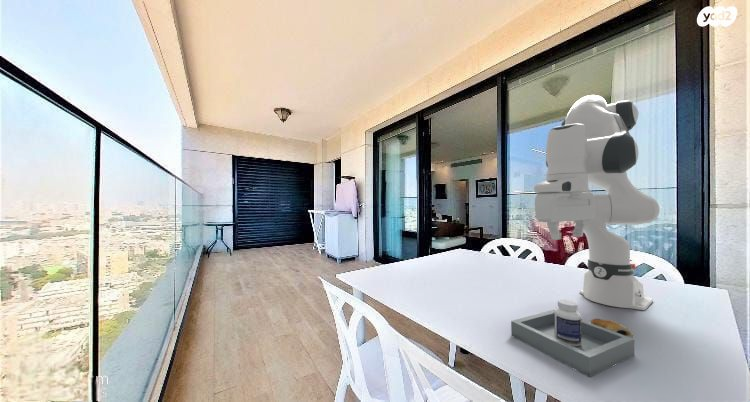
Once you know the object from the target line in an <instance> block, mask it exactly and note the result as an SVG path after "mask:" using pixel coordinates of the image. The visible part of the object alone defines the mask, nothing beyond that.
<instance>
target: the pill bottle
mask: <svg viewBox="0 0 750 402" xmlns="http://www.w3.org/2000/svg"><path fill="white" fill-rule="evenodd" d="M578 309H579V308H578V303H577V302H574V301H572V300H567V299H558V300H557V308H555V309H554V310H555V311H554V319H555V338H556V339H558V340H560V341H562V342H564V343H567V344H569V345H571V346H580V345H581V343H582V334H581V332H582V330H581V320H582V316H581V315H582V314H581V313H579V312H578Z"/></svg>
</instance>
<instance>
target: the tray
mask: <svg viewBox="0 0 750 402" xmlns="http://www.w3.org/2000/svg"><path fill="white" fill-rule="evenodd" d="M554 311H555V309H551V310H547V311H544V312H539V313H536V314H532V315H529V316H525V317H521V318H517V319H514V320H511V321H510V325H511V326H510V336H511V337H513V338H515V339H516V340H519V341H520V342H522V343H524V344H526V345H527V346H530V347H532V348H533V349H536V350H537V351H539V352H541V353H543V354H545V355H546V356H548V355H549V357H550V356H551V357H550V358H553V359H554V360H557V361H558V362H561V363H562V364H564V365H565V364H566V366H567V365H568V366H567V367H569V366H570V367H569V368H571V369H573V368H574V369H573V370H575V369H576V370H575V371H577V372H579V373H581V374H583V375H584V374H585V376H586V375H587V377H588V378H591V377H593V376H596V375H597V374H600V373H601V372H604V371H606V370H608V369H611V368H613V367H614V366H613V365H615V364H617V363H619V364H621V363H623V362H625V361H627V360H630V359H632V358H633V357H635V338H634V337H633V338H630V337H628V336H625V335H622V334H619V333H617V332H614V331H611V330H608V329H606V328H603V327H600V326H597V325H594V324H592V323H591V322H589V321H585V320H583V319H581V330H582V332H581V334H582V343H581V345H580V346H571V345H569V344H567V343H564V342H562V341H560V340H558V339H556V338H555V319H554ZM617 365H618V364H617ZM612 366H613V367H612ZM615 366H616V365H615Z"/></svg>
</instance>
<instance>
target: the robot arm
mask: <svg viewBox="0 0 750 402" xmlns="http://www.w3.org/2000/svg"><path fill="white" fill-rule="evenodd" d="M638 118H639V110H638V107H637V106H636V105H635V103H634V102H632V101H630V100H619V101H616V102H615V103H609V104H607V102H606V100H605V98H603V97H602V96H600V95H595V94H591V95H586V96H583V97H581V98H580V99H578V100H577V101H576V102H575V103H574V104H573V105H572V106H571V108H570V110H569V111H568V112H567V116H566V117H565V118H564V119H563V121H562V122H561V124H560V125H559V126H555V127H552V128H551V129H549V130H548V133H547V140H546V145H545V146H546V147H545V148H546V150H545V165H546V167H547V171H546V175H545V176H546V177H545V178H546V179H545V180H543V181H540V182H539V183H536V184H534V188H533V191H534V193H535V194H536V195H535V198H534V214H535V219H536V221H537V222H539V223H546V226H547V229H548V231H549V233H550V239H551V240H554V241H555V240H556V241H558V240H559V241H560V240H562V232H560V230H559V227H560V223H563V222H572V223H574V229H572V236H573V237H576V238H581V237H583V236H584V235H585V237H586V240H587V244H588V245H587V246H588V260H587V263H586V264H587V265H586V266H587V269H588V271H586V272H585V273H584V276H583V287H582V289H579V294H581V295H583V296H584V298H585V299H587V300H588V301H592V302H595V303H597V304H601V305H604V306H605V305H606V306H609V307H615V308H622V309H634V310H640V311H645V310H647V308H648V307H649V306H650V305H651V304H652V303H653V302H654V299H653V298H652V297H650V296H646V295H645V294H644V284H643V283H642V282H641V281H640V280H639V279H637V277H636V276H634V273H635V272H634V270H636V269H637V267H636V263H631V259H630V258H631V254H630V253H631V246H630V242H628V240H627V239H626V238H624V237H622V236H620V235H618V234H616V233H613V232H611V231H609V230H608V228H607V225H627V226H628V225H630V226H631V225H633V226H634V225H642V224H643V225H644V224H650V223H652V222H655V220H656V219H657V218H658V216H659V215H660V205H659V203H658V202H657V200H656V199H655V198H654V197H652V196H650V195H648V194H646V193H644V192H642V191H641V190H639V189H638V188H637V187H636V186H635V185H633V183H632V182H631V180H630V179H629V177H628V173H627V171H628V170H630V169H632V168H633V167H634V166H635V165H636V164H637V162H638V160H639V159H638V158H639V146H638V144H637V141H636V140H635V139H634V137H633V136H632V135H631V134H630V132H629V131H631V130H632V129H633V128H634V127H635V126H636V124H637V121H638ZM589 184H590V185H592V186H594V187H597V188H600V189H602V190H604V191H605V192H607V194H593V193H592V192H591V190H590V189H589Z"/></svg>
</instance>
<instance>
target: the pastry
mask: <svg viewBox="0 0 750 402" xmlns="http://www.w3.org/2000/svg"><path fill="white" fill-rule="evenodd" d="M590 323H592V324H594V325H597V326H600V327H603V328H606V329H608V330H611V331H614V332H617V333H619V334H622V335H625V336H628V337H630V338H633V339H634V334H633V332H632V331H631V330H630V329H629V328H627V327H625V326H623V325H621V324H620V323H618V322H615V321H612V320H607V319H601V318H594V319H591V321H590Z"/></svg>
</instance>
